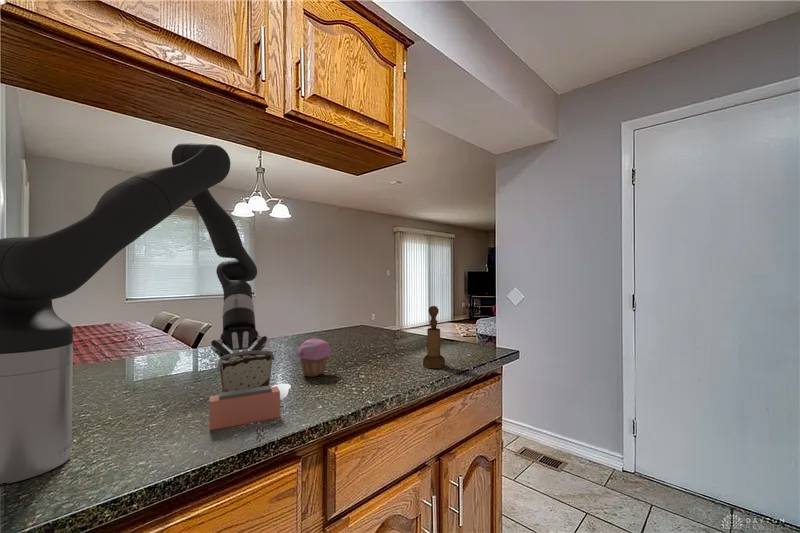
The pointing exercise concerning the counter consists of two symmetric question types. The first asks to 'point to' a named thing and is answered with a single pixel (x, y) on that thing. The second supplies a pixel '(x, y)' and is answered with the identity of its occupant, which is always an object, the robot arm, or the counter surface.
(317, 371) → the cupcake
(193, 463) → the counter surface
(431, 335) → the brown tall knobbed column
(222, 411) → the pink and grey block
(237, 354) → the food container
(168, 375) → the counter surface
